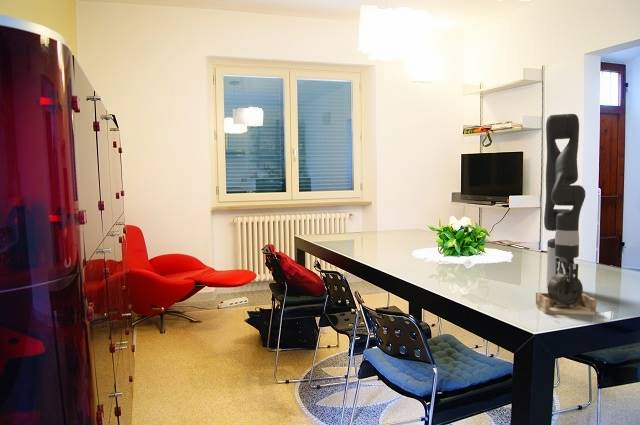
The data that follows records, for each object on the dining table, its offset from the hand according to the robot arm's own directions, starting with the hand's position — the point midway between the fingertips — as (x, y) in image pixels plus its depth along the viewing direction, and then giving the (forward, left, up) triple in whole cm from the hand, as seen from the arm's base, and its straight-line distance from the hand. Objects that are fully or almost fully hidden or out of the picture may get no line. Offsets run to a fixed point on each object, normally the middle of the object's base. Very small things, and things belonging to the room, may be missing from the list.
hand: (565, 290), depth 176 cm
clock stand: (0, 0, -7) cm, 7 cm away
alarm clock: (0, 0, -6) cm, 6 cm away
